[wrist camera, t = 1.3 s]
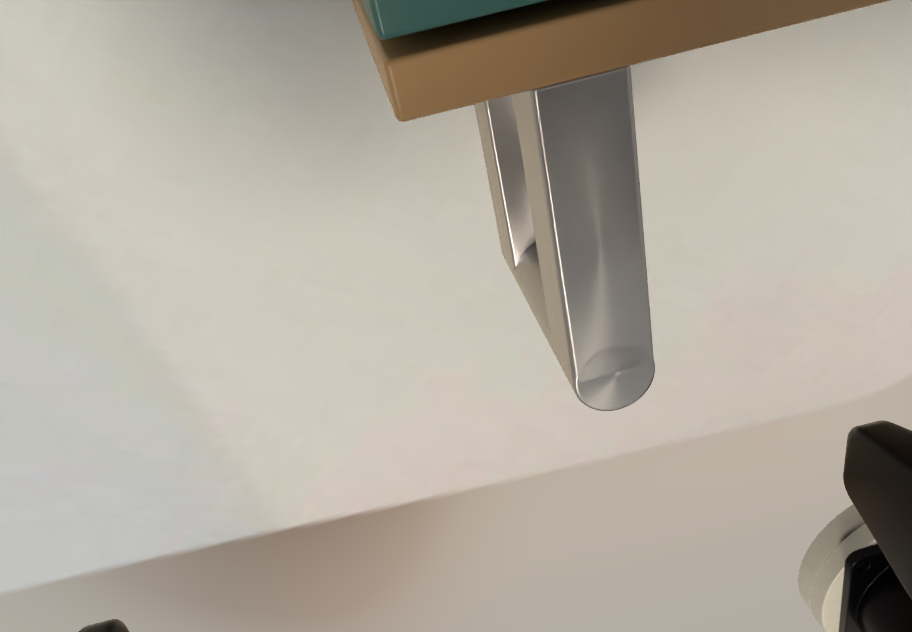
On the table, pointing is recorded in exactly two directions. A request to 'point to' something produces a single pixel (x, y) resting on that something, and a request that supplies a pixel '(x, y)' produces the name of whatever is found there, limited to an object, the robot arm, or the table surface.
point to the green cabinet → (429, 13)
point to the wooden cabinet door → (570, 152)
